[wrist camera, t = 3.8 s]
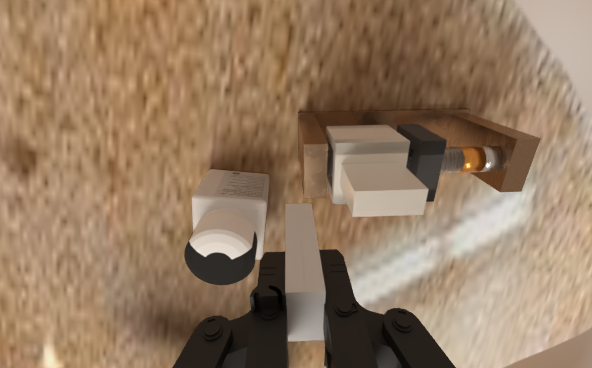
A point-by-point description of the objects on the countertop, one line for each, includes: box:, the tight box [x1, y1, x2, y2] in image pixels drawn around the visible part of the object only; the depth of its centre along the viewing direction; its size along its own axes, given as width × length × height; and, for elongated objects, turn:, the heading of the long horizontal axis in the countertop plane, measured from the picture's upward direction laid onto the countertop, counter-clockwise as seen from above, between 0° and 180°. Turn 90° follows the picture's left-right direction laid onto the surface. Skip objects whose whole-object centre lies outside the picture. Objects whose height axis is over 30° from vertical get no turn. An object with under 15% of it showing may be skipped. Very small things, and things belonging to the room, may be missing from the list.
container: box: [185, 169, 270, 285], centre depth 32 cm, size 8×8×13 cm
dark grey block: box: [397, 124, 447, 202], centre depth 27 cm, size 2×6×6 cm, turn 1°
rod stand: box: [298, 108, 540, 198], centre depth 30 cm, size 20×6×11 cm, turn 91°
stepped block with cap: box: [326, 125, 429, 217], centre depth 24 cm, size 6×6×11 cm
